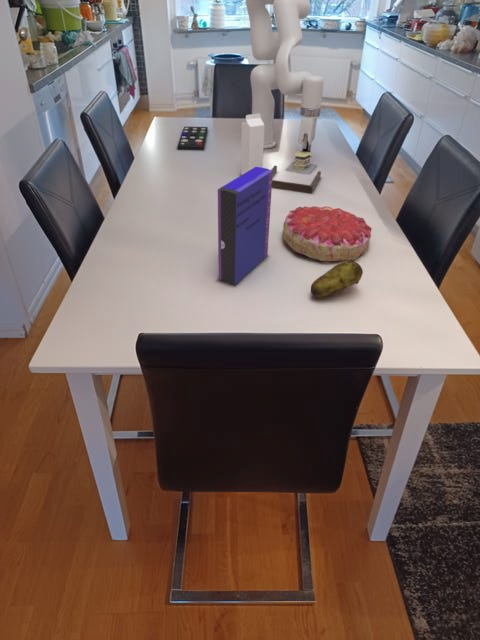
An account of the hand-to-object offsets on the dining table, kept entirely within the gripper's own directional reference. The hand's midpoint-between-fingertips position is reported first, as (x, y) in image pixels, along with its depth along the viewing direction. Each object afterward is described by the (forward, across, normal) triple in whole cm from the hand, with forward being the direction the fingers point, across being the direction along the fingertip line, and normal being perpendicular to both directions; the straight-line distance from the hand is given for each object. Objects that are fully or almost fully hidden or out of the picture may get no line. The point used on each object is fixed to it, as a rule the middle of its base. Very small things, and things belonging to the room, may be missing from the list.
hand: (305, 160), depth 187 cm
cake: (+2, +65, +18) cm, 68 cm away
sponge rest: (+1, +22, 0) cm, 22 cm away
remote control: (+1, -13, -54) cm, 56 cm away
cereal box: (+2, +86, +1) cm, 86 cm away
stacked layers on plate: (+1, +6, 0) cm, 6 cm away
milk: (+1, +21, -16) cm, 27 cm away
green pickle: (+2, +90, +25) cm, 93 cm away
